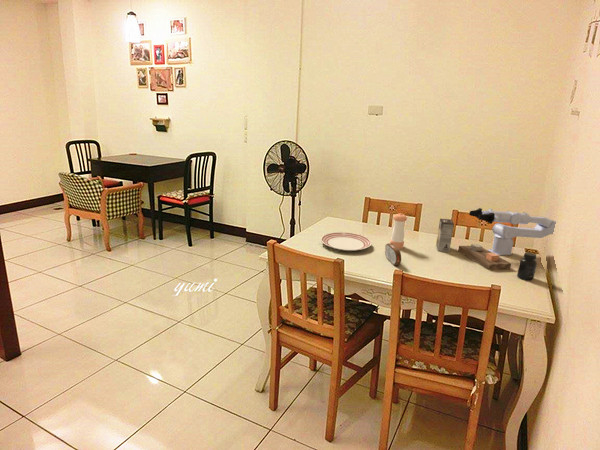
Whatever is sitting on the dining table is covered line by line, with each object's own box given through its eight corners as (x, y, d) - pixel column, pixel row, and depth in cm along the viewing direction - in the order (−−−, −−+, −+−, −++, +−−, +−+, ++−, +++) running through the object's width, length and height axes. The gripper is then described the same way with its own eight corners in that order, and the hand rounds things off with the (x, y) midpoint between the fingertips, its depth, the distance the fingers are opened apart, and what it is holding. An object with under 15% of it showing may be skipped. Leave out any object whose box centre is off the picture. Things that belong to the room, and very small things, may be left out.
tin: (400, 267, 189) (403, 251, 186) (394, 267, 188) (396, 251, 186) (389, 256, 203) (390, 240, 200) (383, 256, 202) (385, 240, 200)
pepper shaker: (388, 247, 215) (392, 213, 210) (390, 243, 222) (395, 210, 216) (402, 249, 213) (406, 215, 207) (404, 245, 219) (408, 212, 214)
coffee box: (435, 245, 223) (439, 218, 218) (447, 246, 221) (451, 219, 217) (437, 250, 214) (442, 222, 209) (449, 252, 213) (454, 223, 208)
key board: (477, 250, 218) (478, 245, 217) (510, 269, 193) (511, 263, 192) (458, 251, 215) (458, 245, 214) (488, 270, 191) (489, 264, 190)
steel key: (477, 249, 212) (478, 244, 211) (481, 252, 208) (482, 246, 207) (470, 249, 211) (471, 244, 210) (474, 252, 207) (475, 246, 207)
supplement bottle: (513, 274, 187) (518, 251, 183) (527, 275, 188) (532, 251, 184) (522, 281, 180) (528, 256, 177) (536, 281, 181) (542, 256, 178)
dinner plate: (366, 258, 199) (366, 251, 198) (314, 249, 207) (314, 243, 206) (374, 241, 224) (375, 236, 223) (327, 234, 232) (328, 229, 231)
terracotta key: (492, 258, 200) (493, 252, 199) (497, 261, 196) (499, 255, 195) (485, 258, 199) (486, 253, 198) (490, 261, 195) (491, 255, 194)
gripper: (489, 206, 215) (467, 204, 212) (508, 212, 201) (485, 211, 198) (486, 218, 216) (464, 216, 213) (504, 226, 203) (481, 224, 200)
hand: (474, 215), depth 206 cm, fingers open, 7 cm apart
